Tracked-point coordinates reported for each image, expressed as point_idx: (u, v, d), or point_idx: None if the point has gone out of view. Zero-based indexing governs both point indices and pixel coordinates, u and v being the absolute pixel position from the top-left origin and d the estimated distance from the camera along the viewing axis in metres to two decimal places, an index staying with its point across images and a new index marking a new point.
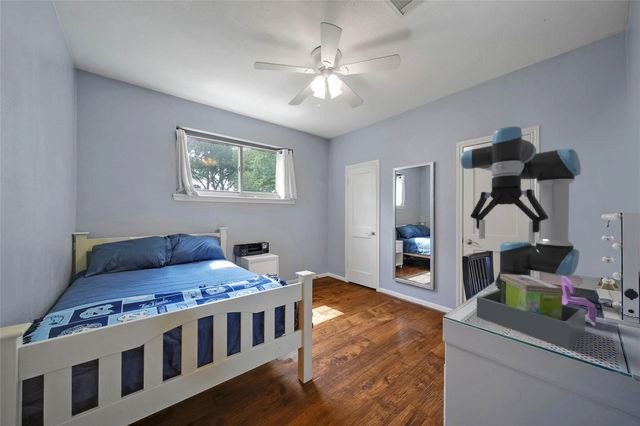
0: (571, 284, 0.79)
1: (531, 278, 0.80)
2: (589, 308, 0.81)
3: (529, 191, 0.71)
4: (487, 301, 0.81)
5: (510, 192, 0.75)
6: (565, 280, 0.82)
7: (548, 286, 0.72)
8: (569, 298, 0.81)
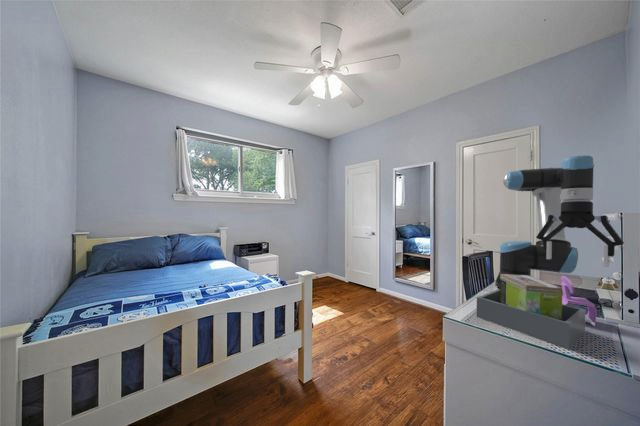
0: (571, 284, 0.79)
1: (531, 278, 0.80)
2: (589, 308, 0.81)
3: (604, 217, 0.75)
4: (487, 301, 0.81)
5: (582, 217, 0.79)
6: (565, 280, 0.82)
7: (548, 286, 0.72)
8: (569, 298, 0.81)
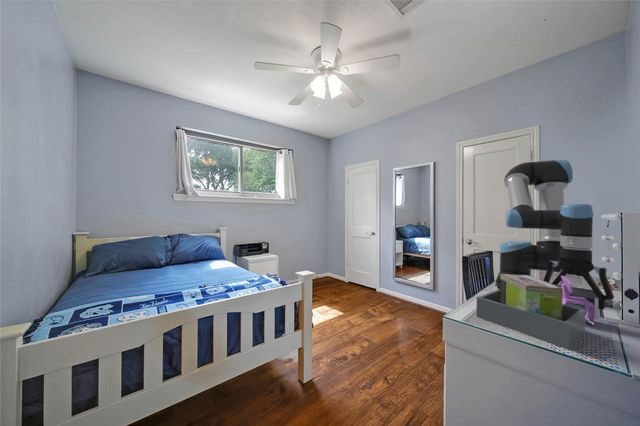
0: (569, 284, 0.80)
1: (531, 278, 0.80)
2: (588, 308, 0.81)
3: (603, 270, 0.75)
4: (487, 301, 0.81)
5: (582, 264, 0.79)
6: (564, 280, 0.82)
7: (548, 286, 0.72)
8: (568, 298, 0.81)
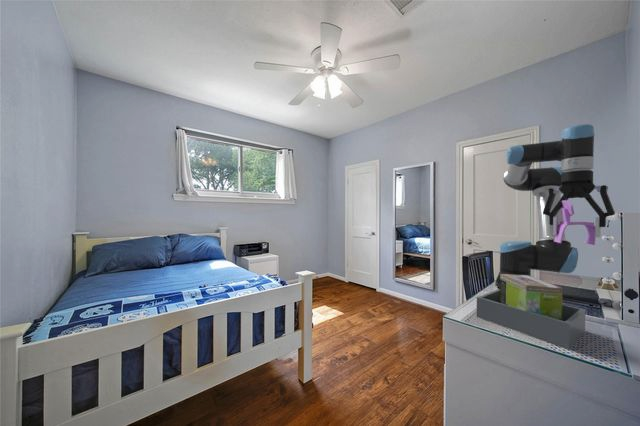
0: (570, 205, 0.80)
1: (531, 278, 0.80)
2: (589, 230, 0.81)
3: (604, 187, 0.75)
4: (487, 301, 0.81)
5: (583, 185, 0.79)
6: (564, 203, 0.82)
7: (548, 286, 0.72)
8: (568, 220, 0.81)
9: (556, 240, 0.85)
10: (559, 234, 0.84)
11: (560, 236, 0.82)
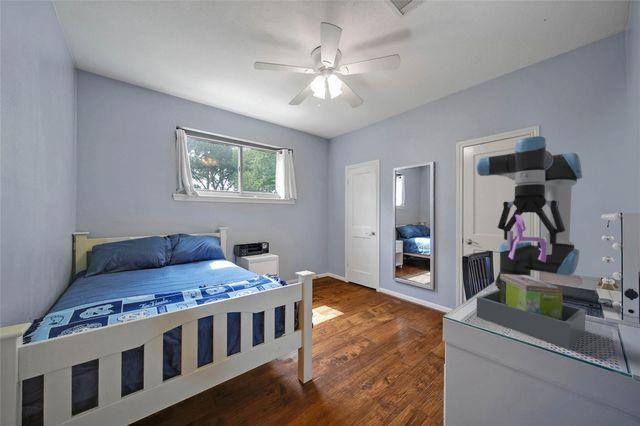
0: (522, 220, 0.76)
1: (531, 278, 0.80)
2: (542, 246, 0.78)
3: (554, 202, 0.72)
4: (487, 301, 0.81)
5: (534, 200, 0.76)
6: (517, 218, 0.79)
7: (548, 286, 0.72)
8: (521, 236, 0.78)
9: (510, 256, 0.81)
10: (512, 250, 0.80)
11: (513, 252, 0.79)
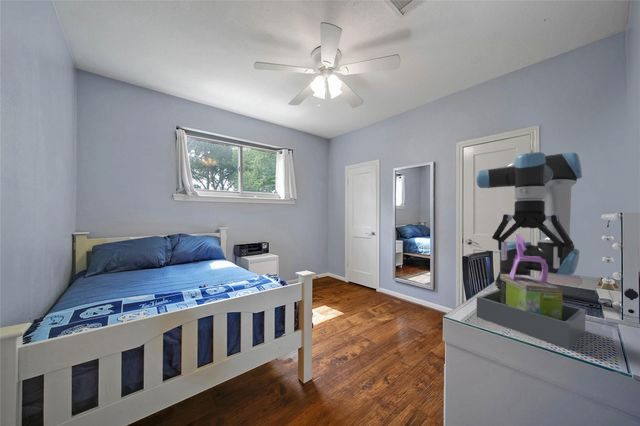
0: (522, 240, 0.76)
1: (531, 278, 0.80)
2: (543, 266, 0.78)
3: (554, 217, 0.72)
4: (487, 301, 0.81)
5: (534, 216, 0.76)
6: (518, 237, 0.79)
7: (548, 286, 0.72)
8: (522, 256, 0.78)
9: (511, 275, 0.81)
10: (513, 269, 0.80)
11: (513, 272, 0.79)
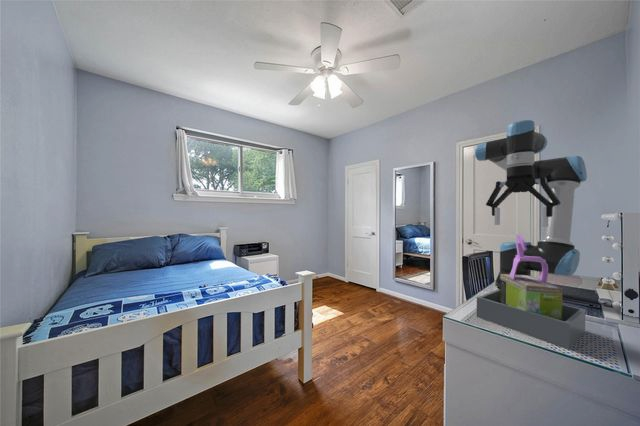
0: (523, 240, 0.76)
1: (531, 278, 0.80)
2: (543, 266, 0.78)
3: (543, 179, 0.78)
4: (487, 301, 0.81)
5: (524, 181, 0.82)
6: (518, 237, 0.79)
7: (548, 286, 0.72)
8: (522, 256, 0.78)
9: (511, 275, 0.81)
10: (513, 269, 0.80)
11: (514, 272, 0.79)
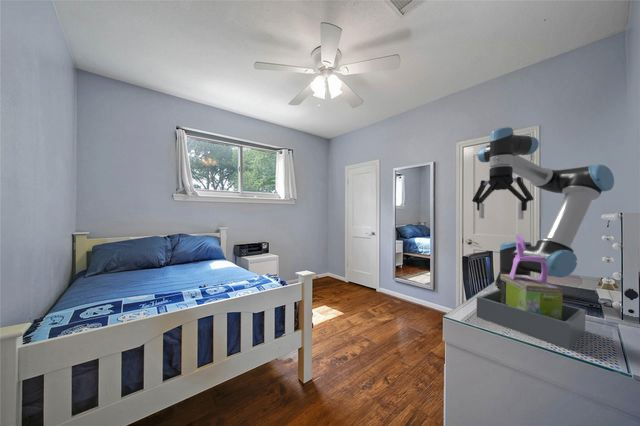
0: (522, 240, 0.77)
1: (531, 278, 0.80)
2: (542, 266, 0.78)
3: (519, 178, 0.90)
4: (487, 301, 0.81)
5: (504, 180, 0.94)
6: (518, 237, 0.79)
7: (548, 286, 0.72)
8: (522, 256, 0.78)
9: (511, 275, 0.82)
10: (513, 269, 0.81)
11: (513, 271, 0.79)
